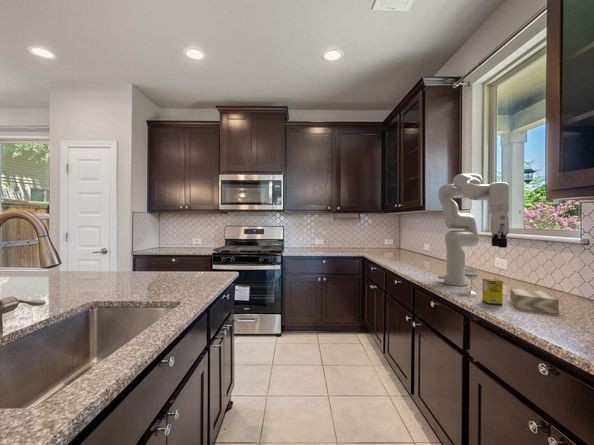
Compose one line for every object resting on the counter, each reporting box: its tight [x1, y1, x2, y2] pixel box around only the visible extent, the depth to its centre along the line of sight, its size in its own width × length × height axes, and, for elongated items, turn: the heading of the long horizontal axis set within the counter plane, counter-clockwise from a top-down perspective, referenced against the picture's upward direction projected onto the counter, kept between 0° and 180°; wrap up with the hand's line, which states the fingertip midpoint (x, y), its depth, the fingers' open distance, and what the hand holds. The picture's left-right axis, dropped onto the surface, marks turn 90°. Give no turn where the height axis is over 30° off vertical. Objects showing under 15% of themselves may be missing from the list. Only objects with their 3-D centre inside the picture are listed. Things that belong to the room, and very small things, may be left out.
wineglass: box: [464, 268, 480, 295], centre depth 149 cm, size 7×7×12 cm
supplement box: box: [481, 277, 504, 306], centre depth 129 cm, size 6×6×11 cm
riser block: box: [509, 287, 560, 314], centre depth 125 cm, size 14×14×6 cm
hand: (499, 246), depth 131 cm, fingers open, 9 cm apart
